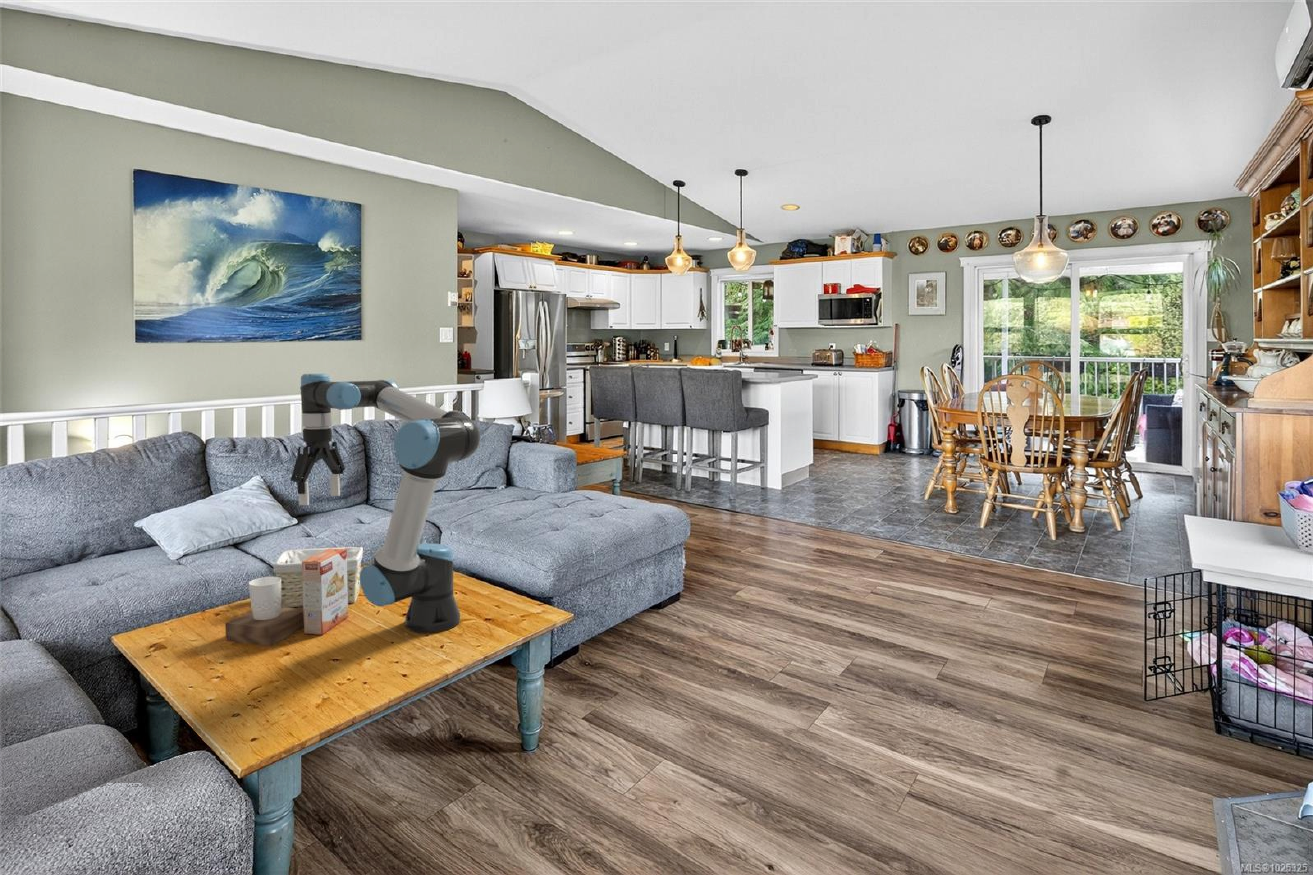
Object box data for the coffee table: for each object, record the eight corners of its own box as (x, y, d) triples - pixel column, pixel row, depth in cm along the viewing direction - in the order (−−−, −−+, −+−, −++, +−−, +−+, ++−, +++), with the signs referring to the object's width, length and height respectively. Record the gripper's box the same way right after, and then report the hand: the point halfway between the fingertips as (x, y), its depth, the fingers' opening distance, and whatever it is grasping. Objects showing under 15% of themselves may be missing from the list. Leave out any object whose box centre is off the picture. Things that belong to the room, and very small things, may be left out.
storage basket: (365, 588, 236) (364, 544, 234) (359, 605, 221) (358, 558, 219) (285, 594, 229) (283, 549, 228) (274, 611, 214) (271, 564, 212)
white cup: (250, 623, 192) (248, 587, 190) (251, 613, 198) (249, 578, 197) (283, 618, 195) (281, 583, 194) (283, 609, 202) (281, 575, 201)
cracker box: (324, 635, 196) (320, 562, 194) (303, 634, 197) (299, 561, 194) (350, 617, 210) (347, 548, 208) (330, 616, 211) (327, 547, 208)
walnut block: (307, 626, 203) (306, 609, 202) (271, 646, 189) (270, 628, 189) (264, 622, 206) (263, 605, 205) (226, 641, 192) (225, 623, 191)
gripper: (333, 422, 218) (336, 491, 220) (274, 431, 194) (278, 508, 196) (355, 423, 216) (358, 492, 219) (298, 432, 192) (301, 509, 195)
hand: (320, 500), depth 208 cm, fingers open, 13 cm apart
